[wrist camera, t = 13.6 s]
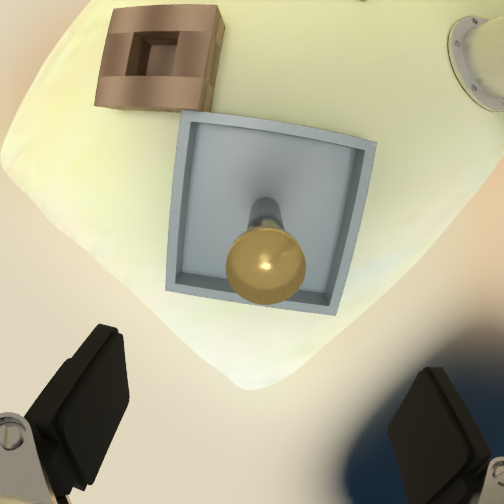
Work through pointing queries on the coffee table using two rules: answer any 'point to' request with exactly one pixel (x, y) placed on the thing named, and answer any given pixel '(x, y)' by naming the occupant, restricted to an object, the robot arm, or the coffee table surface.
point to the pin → (265, 258)
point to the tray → (258, 186)
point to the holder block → (161, 58)
